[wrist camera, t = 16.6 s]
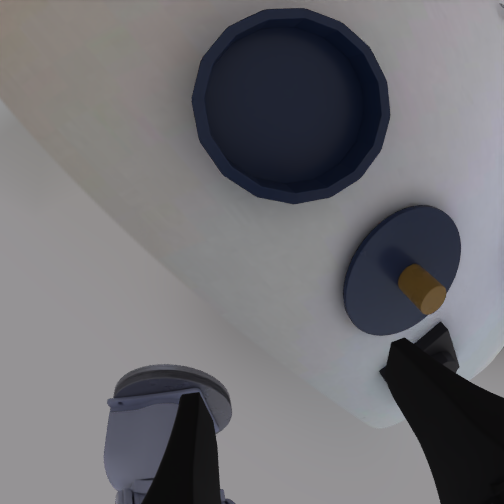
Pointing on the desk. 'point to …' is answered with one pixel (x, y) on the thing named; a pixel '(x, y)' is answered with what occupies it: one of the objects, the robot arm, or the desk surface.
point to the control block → (437, 347)
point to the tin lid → (402, 270)
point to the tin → (291, 105)
